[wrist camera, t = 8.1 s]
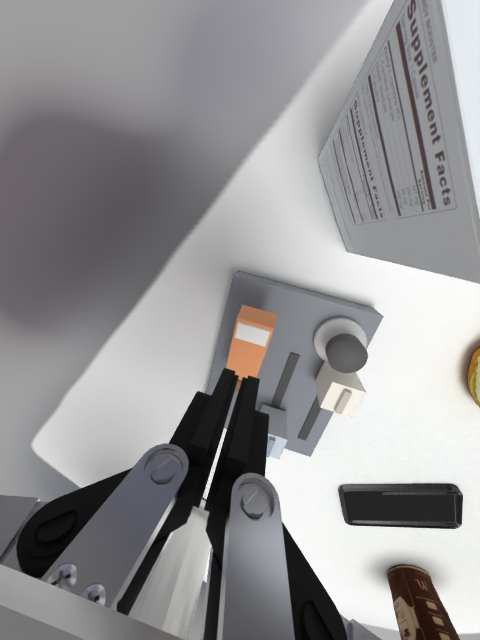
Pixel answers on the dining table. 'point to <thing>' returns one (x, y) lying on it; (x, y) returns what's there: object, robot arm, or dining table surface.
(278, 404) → the console
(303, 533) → the dining table surface
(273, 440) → the slate knob
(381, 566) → the dining table surface
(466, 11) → the supplement box
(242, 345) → the rocker switch
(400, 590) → the coffee cup
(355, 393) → the ivory knob
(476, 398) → the decorated donut
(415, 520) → the phone
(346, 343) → the push button
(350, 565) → the dining table surface
